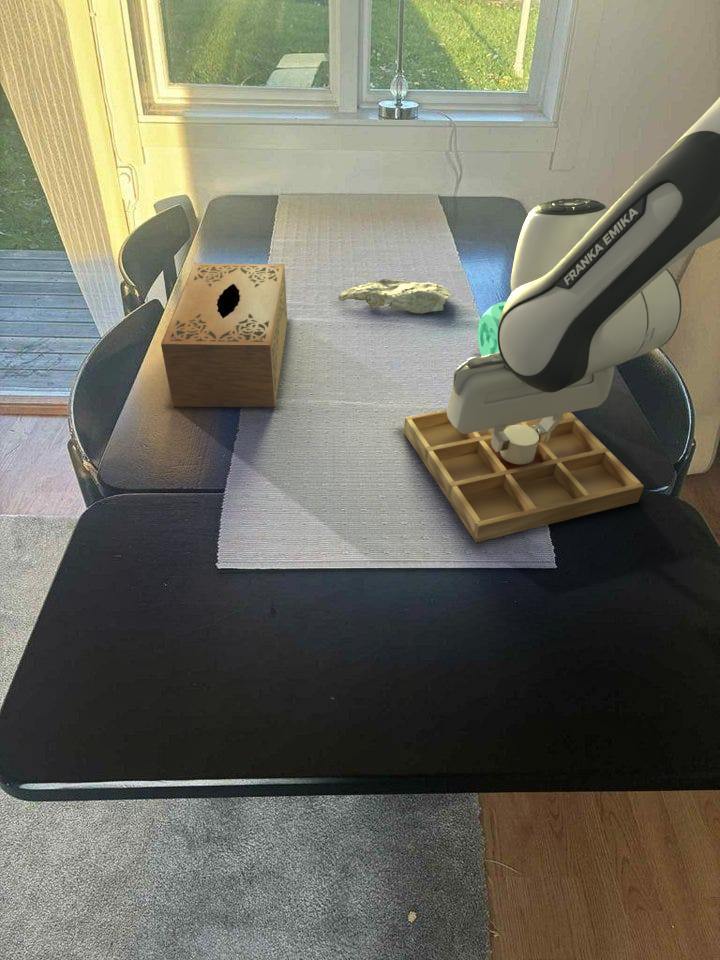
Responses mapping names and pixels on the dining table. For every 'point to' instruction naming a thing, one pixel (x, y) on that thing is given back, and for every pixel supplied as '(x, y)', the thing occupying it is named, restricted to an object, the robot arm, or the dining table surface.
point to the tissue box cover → (227, 336)
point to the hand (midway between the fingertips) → (519, 443)
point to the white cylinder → (520, 444)
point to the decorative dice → (490, 329)
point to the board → (520, 475)
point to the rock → (400, 295)
